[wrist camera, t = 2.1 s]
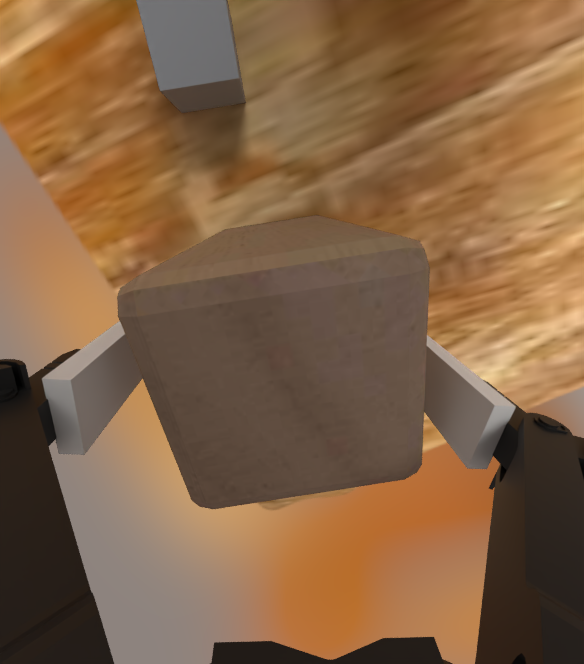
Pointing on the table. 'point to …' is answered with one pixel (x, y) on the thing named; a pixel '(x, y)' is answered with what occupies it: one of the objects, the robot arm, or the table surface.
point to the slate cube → (193, 52)
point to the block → (285, 358)
